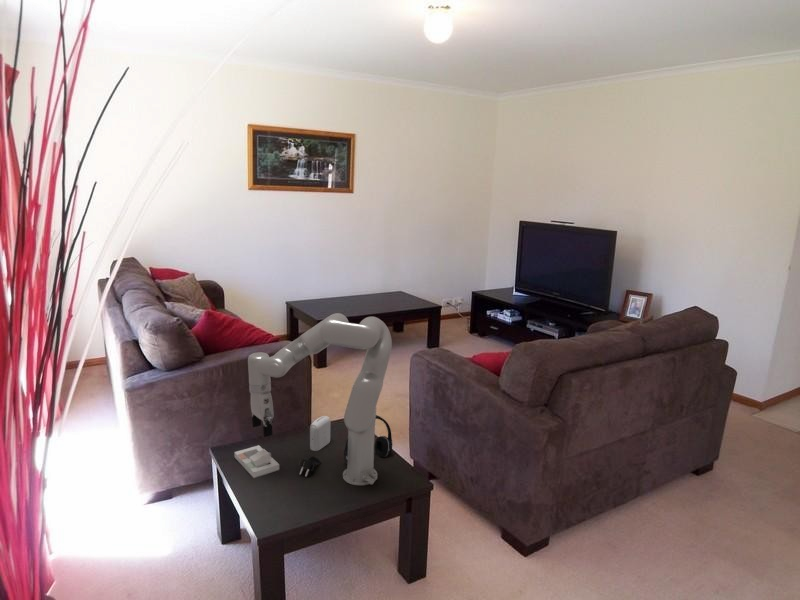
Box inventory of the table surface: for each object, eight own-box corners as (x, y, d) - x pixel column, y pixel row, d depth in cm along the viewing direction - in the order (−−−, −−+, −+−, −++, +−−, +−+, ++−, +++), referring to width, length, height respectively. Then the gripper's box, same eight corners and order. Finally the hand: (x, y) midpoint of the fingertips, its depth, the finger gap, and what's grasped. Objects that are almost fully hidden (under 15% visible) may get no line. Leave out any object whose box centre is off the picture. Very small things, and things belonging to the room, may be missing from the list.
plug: (256, 470, 199) (273, 460, 203) (253, 461, 197) (271, 451, 201) (252, 465, 202) (269, 456, 206) (249, 456, 200) (266, 447, 204)
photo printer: (317, 452, 215) (317, 424, 213) (308, 450, 217) (308, 421, 215) (331, 442, 224) (332, 414, 222) (323, 440, 226) (323, 412, 223)
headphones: (384, 450, 220) (386, 408, 216) (394, 457, 214) (396, 414, 211) (341, 463, 208) (342, 419, 204) (350, 471, 203) (351, 425, 199)
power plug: (328, 463, 206) (313, 455, 196) (320, 482, 203) (305, 476, 194) (316, 459, 209) (300, 451, 199) (308, 478, 206) (292, 471, 196)
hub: (279, 470, 201) (279, 463, 201) (253, 478, 195) (253, 471, 194) (259, 450, 215) (259, 444, 214) (234, 457, 209) (234, 451, 208)
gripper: (280, 391, 191) (282, 436, 194) (259, 377, 204) (262, 420, 207) (260, 396, 186) (262, 442, 190) (240, 382, 199) (243, 425, 203)
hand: (262, 430), depth 199 cm, fingers open, 9 cm apart
